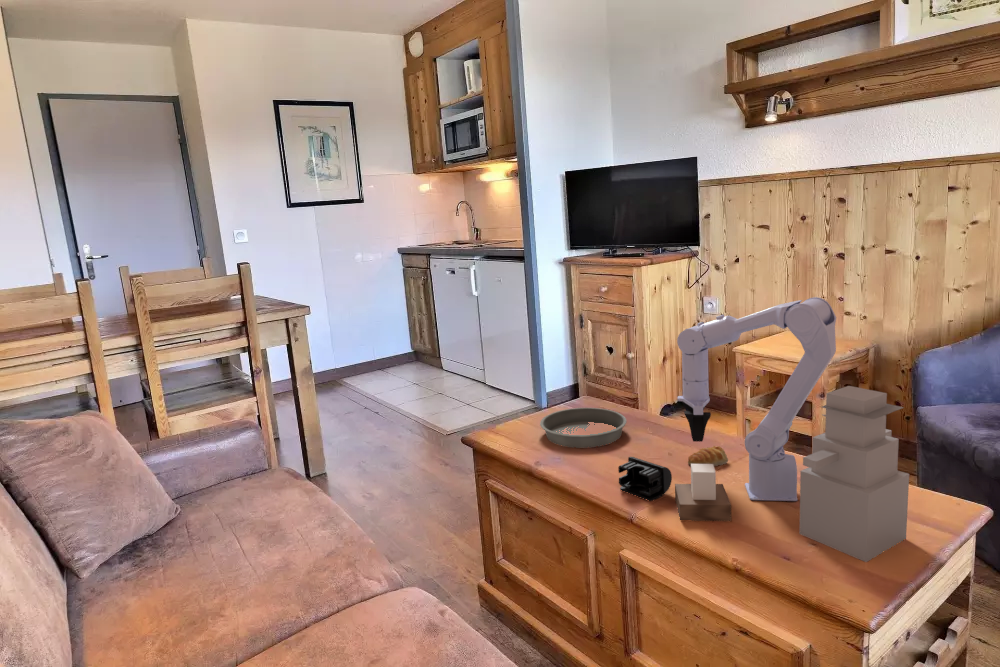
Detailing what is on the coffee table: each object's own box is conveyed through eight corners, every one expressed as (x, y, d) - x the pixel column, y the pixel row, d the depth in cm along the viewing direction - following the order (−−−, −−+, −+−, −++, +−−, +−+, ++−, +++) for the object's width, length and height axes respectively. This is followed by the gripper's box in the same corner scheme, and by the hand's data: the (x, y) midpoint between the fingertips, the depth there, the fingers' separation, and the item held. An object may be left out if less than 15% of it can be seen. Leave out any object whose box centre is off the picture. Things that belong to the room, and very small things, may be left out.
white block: (713, 490, 137) (713, 463, 136) (715, 500, 133) (715, 472, 132) (691, 490, 138) (690, 463, 137) (692, 499, 134) (692, 472, 133)
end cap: (672, 492, 146) (672, 464, 145) (652, 502, 142) (651, 473, 140) (637, 480, 154) (636, 453, 152) (617, 489, 149) (616, 462, 148)
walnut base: (722, 501, 141) (722, 483, 140) (731, 523, 131) (731, 504, 130) (675, 500, 143) (674, 483, 142) (680, 522, 133) (679, 504, 132)
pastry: (698, 472, 156) (698, 457, 155) (681, 462, 162) (681, 448, 162) (730, 464, 159) (730, 449, 159) (712, 455, 165) (712, 441, 165)
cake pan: (528, 429, 195) (528, 415, 194) (603, 416, 202) (602, 402, 201) (560, 457, 172) (559, 440, 171) (643, 441, 179) (642, 425, 178)
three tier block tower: (922, 529, 123) (930, 386, 118) (849, 572, 111) (854, 415, 106) (855, 505, 134) (860, 374, 128) (782, 542, 122) (783, 398, 117)
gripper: (675, 370, 156) (676, 424, 159) (679, 387, 142) (680, 446, 145) (706, 370, 155) (706, 424, 157) (712, 387, 141) (713, 446, 143)
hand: (696, 435), depth 151 cm, fingers open, 7 cm apart
